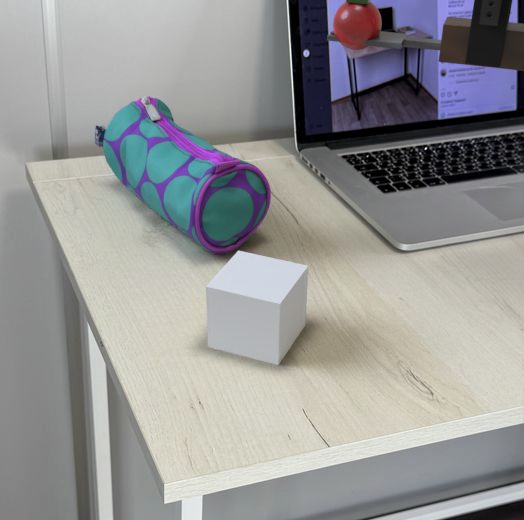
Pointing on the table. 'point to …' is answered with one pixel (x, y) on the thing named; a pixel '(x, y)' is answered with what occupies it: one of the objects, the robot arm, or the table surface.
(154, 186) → the pencil case
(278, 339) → the white cube
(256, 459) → the table surface
